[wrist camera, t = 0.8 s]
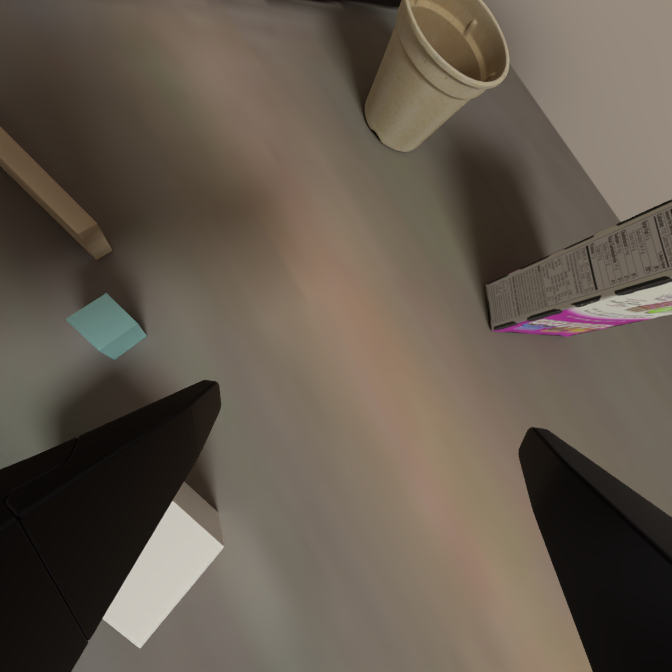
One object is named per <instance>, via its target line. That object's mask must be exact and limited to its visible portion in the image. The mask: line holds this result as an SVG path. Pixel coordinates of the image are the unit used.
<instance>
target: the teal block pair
mask: <svg viewBox="0 0 672 672" xmlns="http://www.w3.org/2000/svg"><path fill="white" fill-rule="evenodd" d="M65 320H66V321H68V322H69V323H70V324H71V325H72V326H73V327H74V328H75V329H76V330H77V331H78V332H79V333H80V334H81V335H82V336H84V337H85V338H86V339H87V340H88V341H89V342H90V343H91V344H92V345H93V346H94V347H95V348H96V349H97V350H99V351H100V352H102V353H103V354H105V355H107V356H109V357H110V358H112V359H114V360H116V359H117V358H118V357H120V356H121V355H122V354H124V353H125V352H126V351H128V350H129V349H130V348H132V347H133V346H134V345H136V344H137V343H138V342H140V341H141V340H142V339H144V338H145V337H146V336H147V335H146V334H145V333H144V331H143V330H142V329H141V327H140V326H139V324H138V323H137V322H136V321H135V320H134V319H133V318H132V317H131V316H130V315H129V314H128V313H127V312H125V311H124V310H123V309H122V308H121V307H120V306H119V305H118V304H117V303H116V302H115V301H114V300H113V299H112V298H111V297H110V296H109V295H108V294H107V293H105V294H104V295H102V296H101V297H99V298H98V299H96V300H94V301H93V302H91V303H90V304H88V305H87V306H85V307H84V308H82V309H80V310H79V311H77V312H76V313H74V314H73V315H71V316H70V317H68V318H66V319H65Z"/></svg>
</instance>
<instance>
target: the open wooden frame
mask: <svg viewBox="0 0 672 672" xmlns="http://www.w3.org/2000/svg"><path fill="white" fill-rule="evenodd" d="M0 166H1V167H2V168H3V169H4V170H5V171H6V172H7V173H8V174H9V175H10V176H11V177H12V178H13V179H14V180H15V181H16V182H17V183H18V184H19V185H20V186H21V187H22V188H23V189H24V190H25V191H26V192H27V193H28V194H29V195H30V196H31V197H32V198H33V199H34V200H35V201H36V202H37V203H38V204H39V205H40V206H41V207H42V208H43V209H44V210H45V211H46V212H47V213H48V214H49V215H50V216H51V217H53V218H54V219H55V220H56V221H57V222H58V223H59V224H60V225H61V226H62V227H63V228H64V229H65V230H66V231H67V232H68V233H69V234H70V235H71V236H72V237H73V238H74V239H75V240H76V241H77V242H78V243H79V244H80V245H81V246H82V247H83V248H84V249H85V250H86V251H87V252H88V253H89V254H90V255H91V256H92V257H93V258H94V259H95V260H98V259H99V258H101V257H103V256H105V255H106V254H108V253H110V252H111V251H112V249H111V247H110V245H109V244H108V242H107V240H106V238H105V236H104V234H103V233H102V231H101V229H100V227H99V225H98V224H97V223H96V222H95V221H94V220H93V219H92V218H91V217H90V216H89V215H88V214H87V213H86V212H85V211H84V210H83V209H82V208H81V207H80V206H79V205H78V204H77V203H76V202H75V201H74V200H73V199H72V198H71V197H70V196H69V195H68V194H67V193H66V192H65V191H64V190H63V189H62V188H61V187H60V186H59V185H58V184H57V183H56V182H55V181H54V180H53V179H52V178H51V177H50V176H49V175H48V174H47V173H46V172H45V171H44V170H43V169H42V168H41V167H40V166H39V165H38V164H37V163H36V162H35V161H34V160H33V159H32V158H31V157H30V156H29V155H28V154H27V153H26V152H25V151H24V150H23V149H22V148H21V147H20V146H19V145H18V144H17V143H16V142H15V141H14V140H13V139H12V138H11V137H10V136H9V135H8V134H7V133H6V132H5V131H4V130H3V129H2V128H1V127H0Z"/></svg>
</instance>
